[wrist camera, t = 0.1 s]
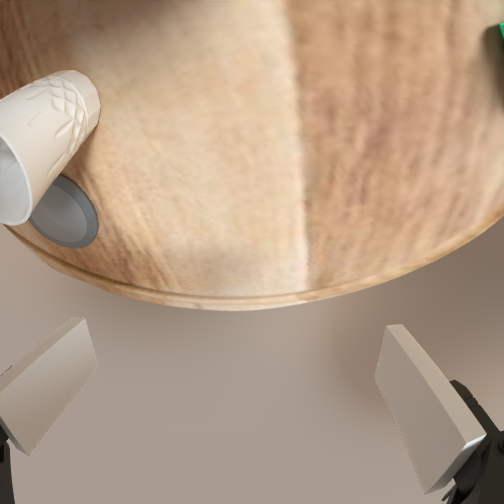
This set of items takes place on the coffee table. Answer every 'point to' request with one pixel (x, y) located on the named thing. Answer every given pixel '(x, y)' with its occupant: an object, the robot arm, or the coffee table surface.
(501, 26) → the camera mount
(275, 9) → the coffee table surface
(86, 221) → the coaster
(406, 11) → the coffee table surface
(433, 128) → the coffee table surface
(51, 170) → the white cup
